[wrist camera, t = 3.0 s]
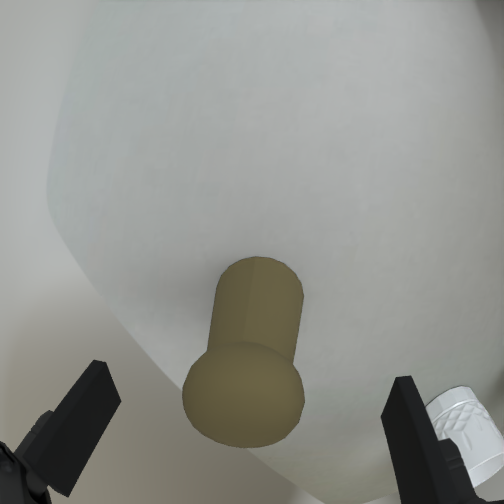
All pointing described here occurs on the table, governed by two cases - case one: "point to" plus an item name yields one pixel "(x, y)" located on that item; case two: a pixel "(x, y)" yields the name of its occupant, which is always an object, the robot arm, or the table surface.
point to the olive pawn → (249, 358)
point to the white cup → (468, 431)
